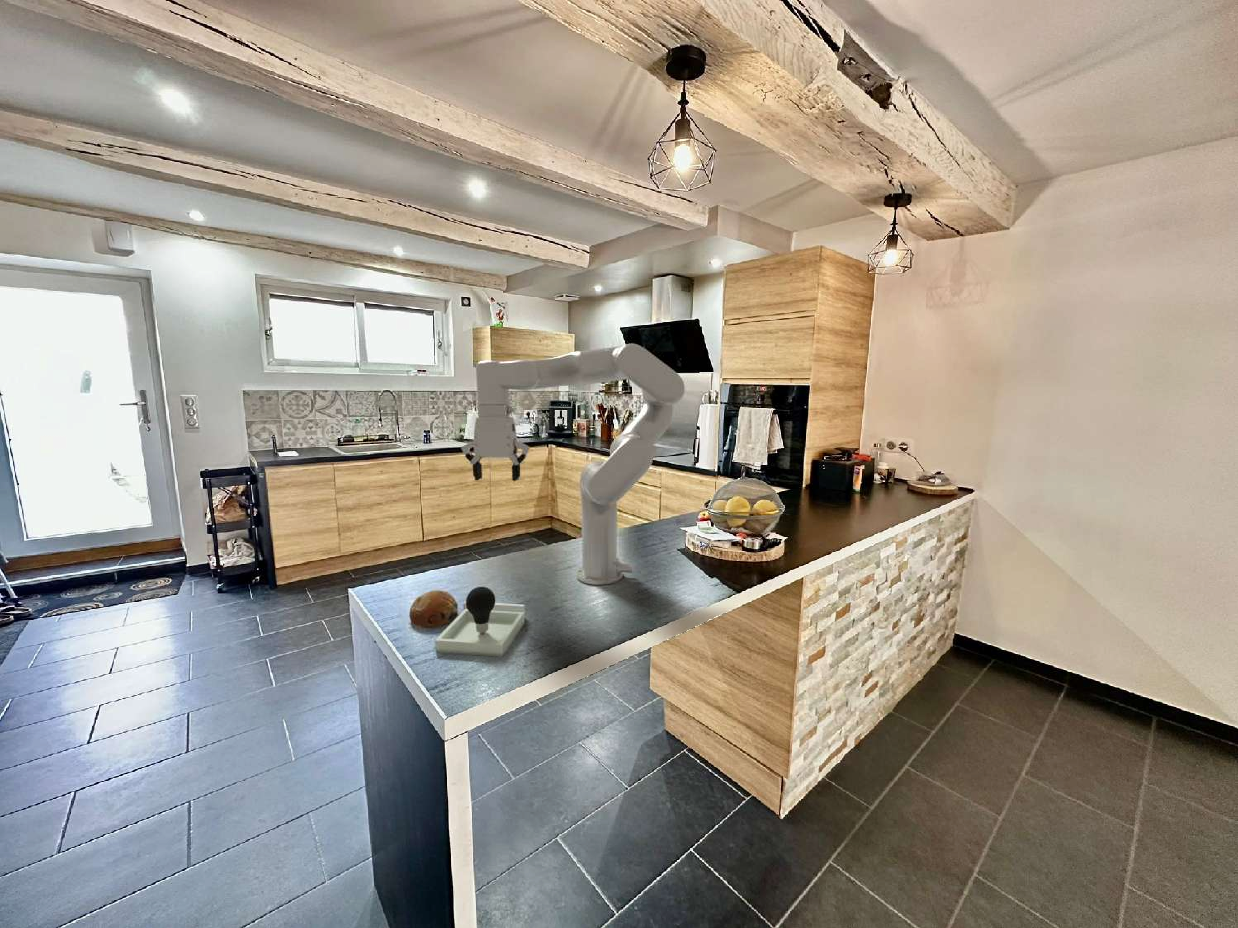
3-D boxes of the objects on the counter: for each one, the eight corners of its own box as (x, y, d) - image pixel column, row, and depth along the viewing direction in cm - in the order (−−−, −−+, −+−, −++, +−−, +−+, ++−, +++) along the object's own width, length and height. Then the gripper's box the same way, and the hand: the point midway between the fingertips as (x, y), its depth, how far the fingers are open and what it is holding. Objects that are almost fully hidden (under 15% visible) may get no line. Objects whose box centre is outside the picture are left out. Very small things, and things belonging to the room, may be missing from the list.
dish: (524, 622, 106) (524, 612, 106) (502, 656, 93) (502, 644, 93) (465, 619, 108) (465, 608, 108) (435, 652, 95) (434, 640, 94)
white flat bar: (524, 617, 109) (524, 604, 108) (523, 618, 108) (523, 606, 108) (465, 613, 111) (464, 601, 110) (463, 615, 110) (463, 602, 109)
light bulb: (474, 643, 96) (471, 595, 95) (463, 632, 101) (460, 586, 100) (501, 634, 100) (499, 588, 99) (490, 624, 105) (488, 580, 103)
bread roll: (448, 620, 115) (439, 588, 116) (470, 615, 109) (460, 580, 110) (408, 637, 107) (398, 602, 108) (429, 632, 101) (418, 595, 102)
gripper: (532, 411, 122) (534, 477, 125) (466, 411, 124) (469, 476, 127) (523, 412, 115) (526, 483, 118) (453, 412, 117) (457, 482, 119)
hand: (497, 479), depth 122 cm, fingers open, 9 cm apart
